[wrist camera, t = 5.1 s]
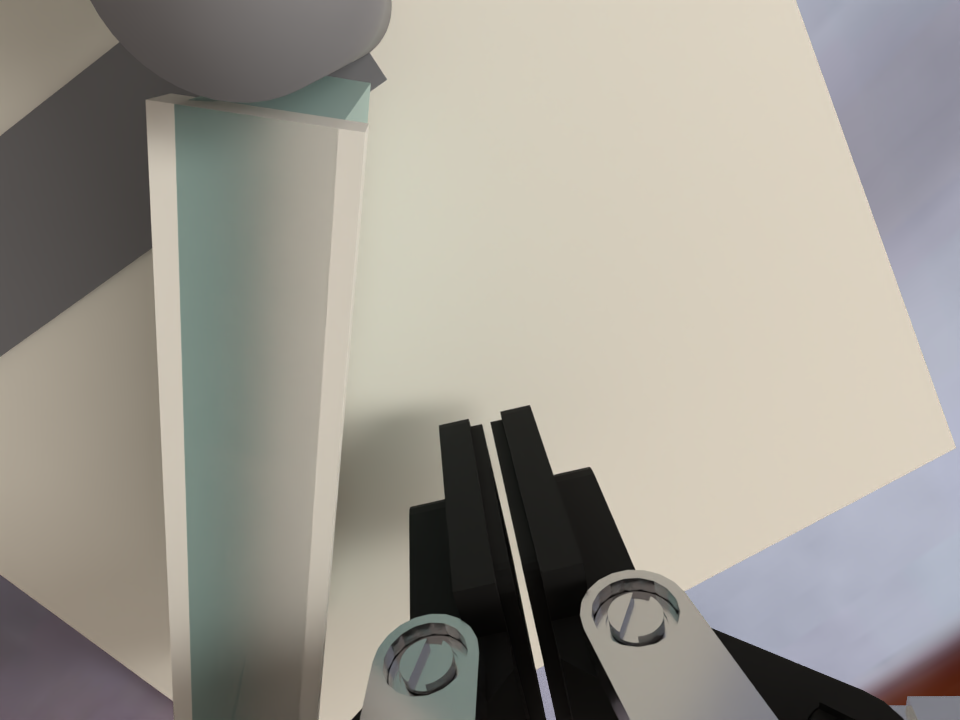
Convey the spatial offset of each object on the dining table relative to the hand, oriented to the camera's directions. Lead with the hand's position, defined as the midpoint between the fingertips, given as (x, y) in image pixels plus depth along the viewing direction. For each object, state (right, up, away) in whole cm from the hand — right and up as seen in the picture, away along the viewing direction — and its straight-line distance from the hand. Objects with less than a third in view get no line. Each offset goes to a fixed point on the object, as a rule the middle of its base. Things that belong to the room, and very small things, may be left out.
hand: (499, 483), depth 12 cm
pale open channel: (-3, +1, 0) cm, 4 cm away
